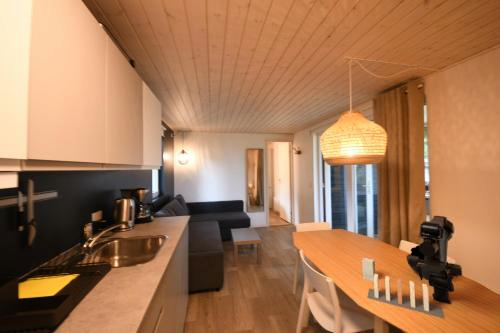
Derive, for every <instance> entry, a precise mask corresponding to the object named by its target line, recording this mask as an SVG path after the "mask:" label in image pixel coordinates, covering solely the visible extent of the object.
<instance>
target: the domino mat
mask: <svg viewBox="0 0 500 333" xmlns="http://www.w3.org/2000/svg"><path fill="white" fill-rule="evenodd" d="M366 298H367V299H370V300H373V301H378V302H382V303H385V304H389V305H392V306H397V307H400V308H403V309H407V310H410V311H414V312H418V313H422V314H424V315H428V316H429V315H430V316H432V317H437V318H439V319H445V320H446V317H445V314H444V311H443V307H442V305H439V304H434V303H430V302H429V311H425V310H424V305H423V300H417V299H415V308H414V307H411V301H410V297H406V296H402V304H399V303H398V294H393V293H390V301H387V300H386V291H382V290H381V291H380V290H379V297H378V298H376V297H375V292H374V289H373V288H368V293H367V297H366Z"/></svg>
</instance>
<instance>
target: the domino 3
mask: <svg viewBox="0 0 500 333" xmlns="http://www.w3.org/2000/svg"><path fill="white" fill-rule="evenodd" d="M396 287H397V295H398V303H399V304H402V297H403V293H402V290H403V289H402V279H401V278H399V277H397V278H396Z"/></svg>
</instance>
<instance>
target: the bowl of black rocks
mask: <svg viewBox="0 0 500 333" xmlns="http://www.w3.org/2000/svg"><path fill="white" fill-rule="evenodd" d="M419 245H420V244H418V245H416V246H413V247H411V249H410V252H411V253H410V254H408V255H406V263H408V257H409V256H410V255H412V256H417V257H419V260H424V258H425V255H423V254H422V253H421V252H420V251H419ZM424 261H425V260H424ZM449 263H450V262H448V261H447V265H449ZM408 265H409V264H408ZM420 265H421V271H422V278H425V279H428V274H430V271H428V270H426V268H425V265H423V264H420ZM409 267H410V268H411V270H412V271H413V272H414V273H416V274H417V275H418V276H419V274H418V272H417V270H416V269H415V268H414V267H412V266H411V265H409ZM447 272H449V270H447Z"/></svg>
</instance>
